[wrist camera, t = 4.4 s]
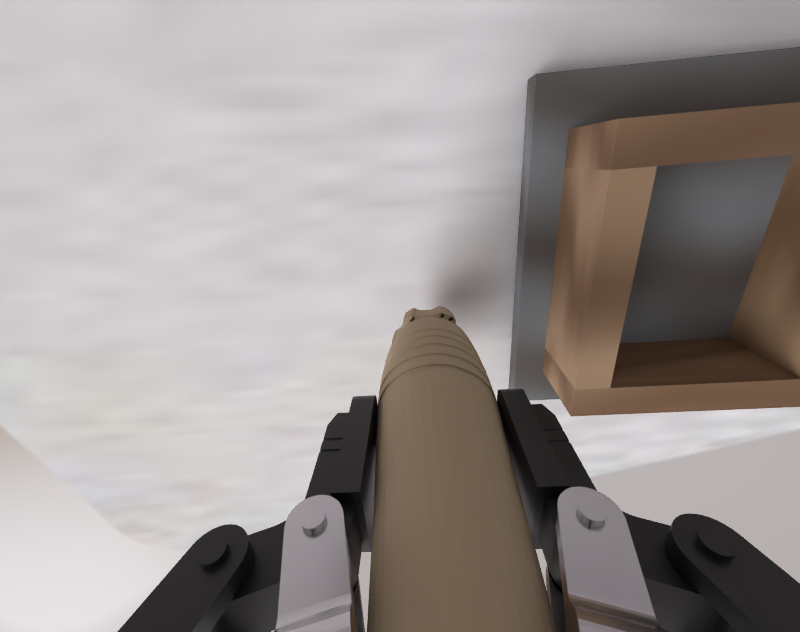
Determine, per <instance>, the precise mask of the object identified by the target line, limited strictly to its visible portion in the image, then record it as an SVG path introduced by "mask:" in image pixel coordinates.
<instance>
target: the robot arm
mask: <svg viewBox="0 0 800 632" xmlns="http://www.w3.org/2000/svg"><path fill="white" fill-rule="evenodd" d="M497 404H498V407H499V410H500V414H501V418H502V422H503V426H504V430H505V434H506V438H507V442H508V446H509V450H510V454H511V458H512V462H513V466H514V470H515V474H516V478H517V482H518V486H519V490H520V493H521V497H522V501H523V505H524V509H525V512H526V516H527V520H528V524H529V527H530V531H531V535H532V539H533V542H534V546H535V549H542V550H543V553H544V556H545V559H546V562H547V567H546V586H547V594H548V598H549V602H550V605H551V609H552V613H553V617H554V620H555V624H556V628H557V631H558V632H800V583H798V582H797V581H796V580H795V579H793V578H792V577H791V576H790V575H789V574H787V573H786V572H785V571H784V570H782V569H781V568H780V567H779V566H777V565H776V564H775V563H774V562H773V561H771V560H770V559H769V558H768V557H766V556H765V555H764V554H763V553H761V552H760V551H759V550H758V549H756V548H755V547H754V546H753V545H752V544H750V543H749V542H748V541H747V540H745V539H744V538H743V537H742V536H740V535H739V534H738V533H737V532H735V531H734V530H733V529H731V528H729V527H728V526H726V525H724V524H723V523H721V522H719V521H717V520H714V519H712V518H710V517H706V516H703V515H698V514H683V515H680V516H678V517H676V518H675V519H674V521H673V523H672V525H671V526H669V525H665V524H661V523H658V522H654V521H650V520H646V519H642V518H638V517H635V516H632V515H629V514H627V513H625V512H623V511H621V509H620V508H619V507H618V505H616V503H615V502H613V501H612V500H611V499H610V498H609V497H607V496H606V495H604V494H602V493H600V492H598V491H597V490H596V489H595V487H594V485H593V483H592V481H591V479H590V478H589V476H588V474H587V472H586V470H585V469H584V467H583V465H582V463H581V461H580V460H579V458H578V456H577V454H576V452H575V451H574V449H573V447H572V445H571V443H569V440H568V438H567V436H566V434H565V432H564V431H563V430H562V427H561V425H560V423H559V422H558V420H557V418H556V416H555V415H554V414H553V413H552V412H551V411H549V410H548V409H547V408H546V407H545V406H544V405H542V404H532V405H531V404H530V402H529V400H528V398H527V395H526V393H525V391H524V390H523V389H503V390H498V395H497ZM377 410H378V405H377V398H376V396H356V397H353V399H352V403H351V407H350V411H349V413H337V415H336V416H335V417H334V418H333V419H332V421H331V422H330V423H329V424H328V426H327V429H326V433H325V436H324V441H323V443H322V446H321V449H320V452H319V456H318V459H317V462H316V465H315V469H314V472H313V475H312V479H311V482H310V485H309V488H308V492H307V495H306V498H305V500H303V501H302V502H300V503H299V504H298V505H297V506H296V507H295V508H294V509H293V510H292V511H291V513H290V514H289V516H288V518H287V520H286V521H284V522H282V523H280V524H278V525H276V526H274V527H271V528H268V529H265V530H262V531H259V532H256V533H254V534H251V535H247V533H246V532H245V530H244V529H243V528H242V527H240V526H237V525H230V524H229V525H223V526H220V527H217V528H215V529H213V530H211V531H209V532H207V533H206V534H204V535H203V536H202V537H201V538H199V539H198V540H197V541H196V542H195V543H194V544H193V545H192V546H191V548H190V549H189V550H188V551H187V552H186V553H185V555H184V556H183V557H182V558H181V559H180V560H179V562H178V563H177V564H176V565H175V566H174V567H173V568H172V570H171V571H170V572H169V573H168V574H167V576H166V577H165V578H164V579H163V580H162V581H161V582H160V584H159V585H158V586H157V587H156V588H155V589H154V590H153V592H152V593H151V594H150V595H149V596H148V597H147V599H146V600H145V601H144V602H143V603H142V604H141V606H140V607H139V608H138V609H137V610H136V611H135V612H134V614H133V615H132V616H131V617H130V618H129V619H128V620H127V622H126V623H125V624H124V625H123V626H122V627H121V628H120V630H119V631H118V632H271V631H272V630H275V631H274V632H365V628H364V619H363V611H362V602H361V593H360V584H359V577H358V574H359V566H360V558H361V552H372V534H373V516H374V491H375V461H376V432H377Z"/></svg>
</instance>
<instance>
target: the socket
mask: <svg viewBox="0 0 800 632" xmlns="http://www.w3.org/2000/svg"><path fill="white" fill-rule="evenodd" d="M509 389H523V390H524V391H525V393H526V395H527V398H528V400H547V399H561V401H562V403H563V404H564V406H565V407H566V409H567V411H568V412H569V414H570V415H571V416H588V415H612V414H636V413H660V412H684V411H708V410H732V409H756V408H780V407H800V47H796V48H787V49H777V50H767V51H757V52H748V53H738V54H728V55H718V56H708V57H699V58H689V59H679V60H669V61H660V62H650V63H640V64H630V65H620V66H611V67H601V68H591V69H581V70H572V71H562V72H552V73H542V74H536V75H534V76H533V77H532V78H530V79H529V80H528V88H527V104H526V120H525V136H524V152H523V168H522V184H521V200H520V216H519V232H518V248H517V264H516V280H515V296H514V312H513V328H512V344H511V360H510V377H509Z"/></svg>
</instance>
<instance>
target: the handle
mask: <svg viewBox="0 0 800 632" xmlns="http://www.w3.org/2000/svg"><path fill="white" fill-rule="evenodd" d="M367 632H558V631H557V628H556V624H555V620H554V617H553V613H552V609H551V605H550V602H549V598H548V594H547V591H546V587H545V584H544V579H543V576H542V572H541V568H540V565H539V561H538V557H537V553H536V550H535V546H534V542H533V539H532V535H531V531H530V527H529V524H528V520H527V516H526V512H525V509H524V505H523V501H522V497H521V493H520V490H519V486H518V482H517V478H516V474H515V470H514V466H513V462H512V458H511V454H510V450H509V446H508V442H507V438H506V434H505V430H504V426H503V422H502V418H501V414H500V410H499V407H498V404H497V401H496V398H495V395H494V392H493V390H492V386H491V384H490V381H489V378H488V376H487V373H486V371H485V369H484V366H483V364H482V362H481V360H480V358H479V356H478V354H477V352H476V350H475V348H474V346H473V345H472V343H471V341H470V340H469V338H468V337H467V335H466V334H465V333H464V331H463V330H462V329H461V328H460V327H458V326H457V325H456V323H455V318H454V316H453V314H452V313H451V312H450V311H449V310H448V309H447V308H444V307H441V306H438V307H436V308H435V309H432V310H417V309H415V308H413V309H411V310H409V311H408V312H406V314H405V316H404V321H403V325H402V326H401V328H400V329H398V330H396V332H395V334H394V336H393V340H392V345H391V348H390V350H389V353H388V356H387V359H386V363H385V367H384V371H383V375H382V380H381V385H380V392H379V400H378V410H377V432H376V461H375V491H374V516H373V534H372V552H371V570H370V588H369V606H368V624H367Z"/></svg>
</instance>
